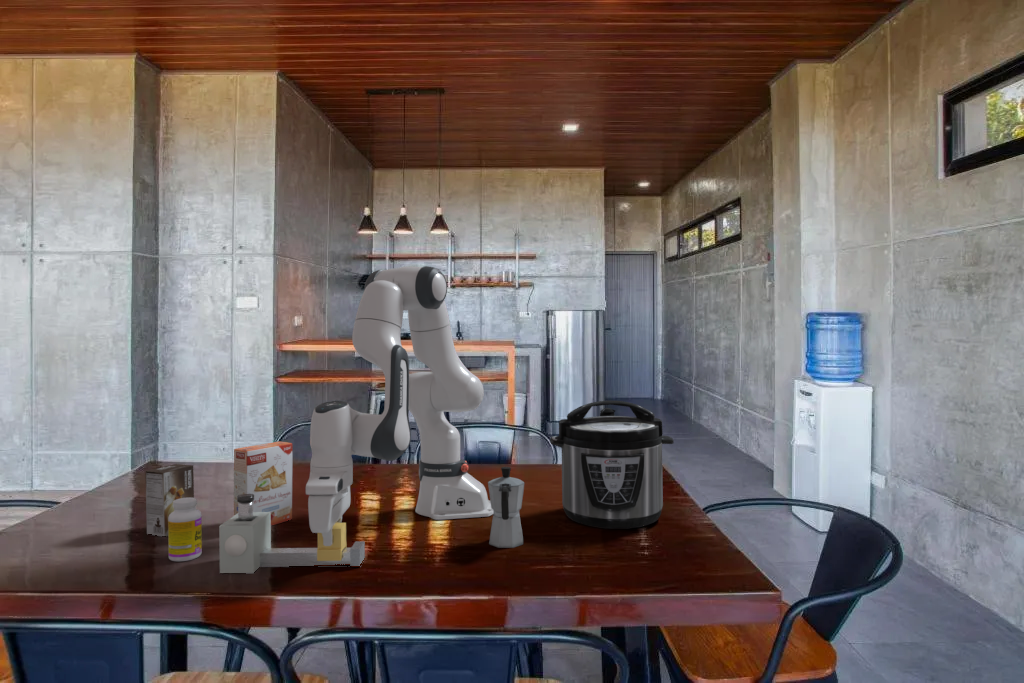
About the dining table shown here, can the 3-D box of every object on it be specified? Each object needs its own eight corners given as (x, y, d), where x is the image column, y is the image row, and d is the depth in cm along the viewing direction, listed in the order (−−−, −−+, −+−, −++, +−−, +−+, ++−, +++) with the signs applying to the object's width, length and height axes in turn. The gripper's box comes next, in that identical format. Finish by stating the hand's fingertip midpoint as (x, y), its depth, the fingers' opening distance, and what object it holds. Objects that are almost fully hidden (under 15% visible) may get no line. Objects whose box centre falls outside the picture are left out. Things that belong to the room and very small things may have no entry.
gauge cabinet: (270, 556, 140) (270, 511, 140) (252, 574, 130) (252, 526, 130) (239, 556, 140) (239, 512, 140) (218, 574, 130) (218, 526, 129)
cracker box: (247, 534, 156) (246, 450, 155) (232, 530, 159) (232, 448, 158) (294, 519, 167) (293, 442, 167) (279, 516, 171) (278, 440, 170)
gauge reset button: (256, 525, 137) (256, 493, 137) (250, 530, 133) (250, 497, 133) (241, 525, 137) (241, 493, 137) (234, 530, 133) (234, 497, 133)
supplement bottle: (198, 560, 138) (198, 502, 137) (165, 564, 136) (164, 505, 136) (204, 550, 144) (204, 495, 144) (172, 553, 142) (171, 497, 142)
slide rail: (364, 559, 138) (364, 541, 138) (359, 567, 133) (359, 549, 133) (264, 560, 138) (264, 542, 138) (255, 568, 133) (255, 550, 133)
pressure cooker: (535, 520, 167) (535, 401, 167) (587, 497, 190) (587, 393, 189) (639, 542, 149) (639, 410, 149) (682, 514, 172) (683, 399, 172)
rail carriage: (346, 552, 138) (346, 522, 138) (340, 560, 133) (340, 529, 133) (323, 552, 138) (323, 522, 138) (317, 560, 133) (317, 529, 133)
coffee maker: (489, 533, 156) (489, 461, 156) (524, 533, 156) (524, 461, 156) (485, 554, 141) (485, 475, 141) (524, 554, 141) (524, 475, 141)
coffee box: (176, 524, 164) (176, 463, 164) (195, 526, 162) (194, 464, 161) (145, 534, 155) (144, 470, 155) (164, 537, 153) (163, 472, 153)
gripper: (329, 466, 146) (330, 525, 146) (302, 488, 125) (303, 557, 125) (357, 466, 146) (357, 525, 146) (334, 488, 125) (334, 556, 126)
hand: (332, 540), depth 136 cm, fingers closed on rail carriage, 4 cm apart
